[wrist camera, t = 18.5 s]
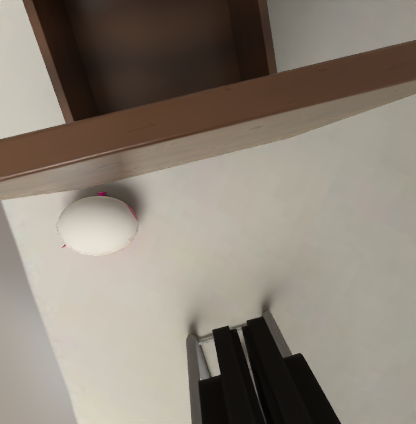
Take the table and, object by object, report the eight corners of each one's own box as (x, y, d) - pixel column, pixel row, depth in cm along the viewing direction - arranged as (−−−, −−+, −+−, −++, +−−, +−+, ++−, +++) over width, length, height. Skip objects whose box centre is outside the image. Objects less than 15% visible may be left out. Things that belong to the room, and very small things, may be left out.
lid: (-203, 187, 6) (-187, 227, 6) (545, 7, 7) (549, 47, 7) (82, 177, 23) (86, 188, 23) (287, 126, 23) (289, 137, 24)
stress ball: (81, 226, 37) (71, 278, 33) (55, 178, 31) (39, 234, 27) (146, 221, 38) (145, 272, 34) (134, 172, 31) (129, 227, 27)
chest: (50, -20, 28) (-9, -88, 18) (221, -58, 28) (245, -142, 19) (110, 163, 33) (86, 181, 23) (254, 127, 33) (286, 132, 24)
